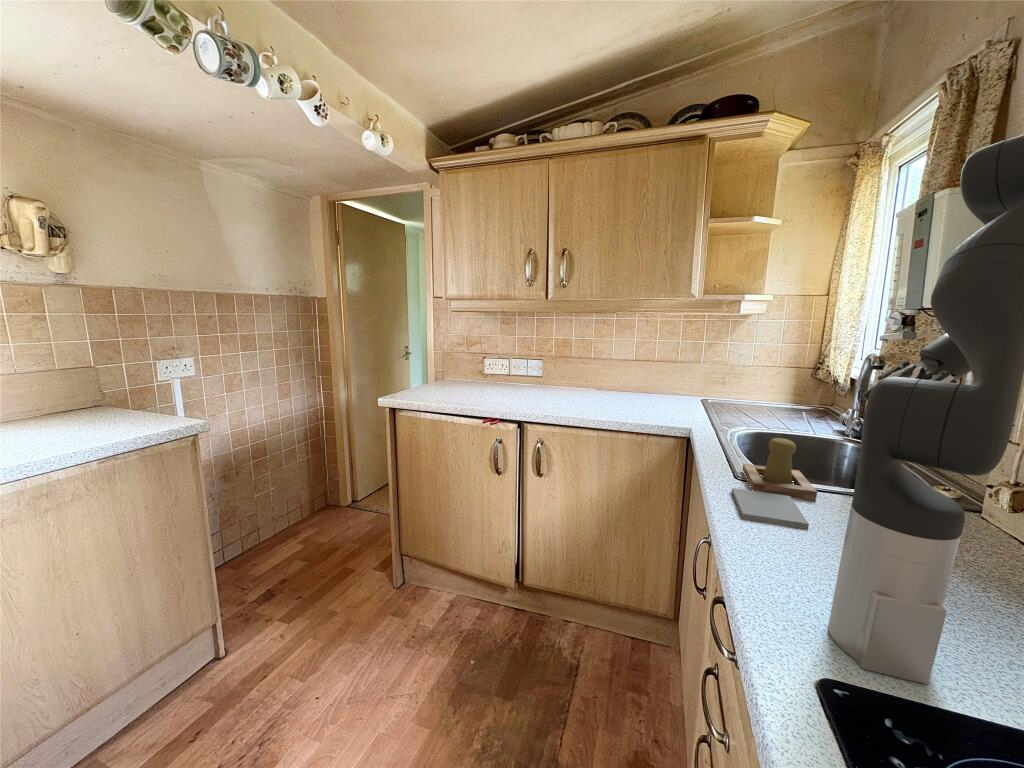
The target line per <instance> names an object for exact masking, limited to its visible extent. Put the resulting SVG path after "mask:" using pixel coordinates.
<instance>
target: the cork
mask: <svg viewBox="0 0 1024 768" xmlns="http://www.w3.org/2000/svg"><path fill="white" fill-rule="evenodd" d="M796 449H797V447H796V443H794V441H792V440H790V439H787V438H781V437H775V438H772V439H771V440H770V441H769V442H768V450H769V455H768V457H767V462H766V465H765V466H766V468H765V471H764V474H763V477H761V479H762V480H763V481H769V482H776V483H784V484H791V485H793V484H792V470H793V468H792V465H793V464H792V461H793V459H792V456H793V455H794V454H795V452H796V451H797V450H796Z"/></svg>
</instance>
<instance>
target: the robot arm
mask: <svg viewBox="0 0 1024 768" xmlns="http://www.w3.org/2000/svg"><path fill="white" fill-rule="evenodd" d="M959 182H960V183H959V184H960V185H959V186H960V192H961V196H962V199H963V202H964V204H965V205H966V207H967V209H969V211H970V212H971V214H972V215H974V217H976V219H978V220H979V222H981V223H982V224H983V225H984V226H983V227H981V228H979V229H978V230H977V231H976V232H974V233H972V235H970V236H969V237H967V239H965V240H964V241H963V242H962V243H961V244H959V245H958V246H957V247H956V248H955V249H954V250H953V251H952V252H951V253H950V255H949V256H948V257H947V259H946V260H945V262H944V264H943V266H942V268H941V271H940V273H939V276H938V278H937V280H936V283H935V286H934V288H933V290H932V294H931V297H930V306H931V310H932V313H933V316H934V317H935V320H936V321H937V322H938V324H939V326H940V327H941V328H942V330H943V331H944V334H943V335H941V336H940V337H938V338H937V339H935V340H933V341H932V342H931V343H929V344H927V345H926V346H924V347H923V348H921V349H920V350H919V352H918V353H919V357H920V360H919V361H918V360H917V361H916V362H914V363H910V361H909V360H904V361H902V362H900V363H898V364H897V365H895V366H894V367H892V368H891V369H889V370H887V371H885V372H883V373H882V374H881V375H879V376H877V378H876V379H877V380H878V382H877V383H876V384H875V385H873V386H872V387H871V388H868V390H866V391H864V392H863V393H862V394H861V396H862V397H863V398H864V399H865V400H866V404H865V405H866V406H865V410H864V415H863V421H862V423H863V424H862V430H861V440H860V450H859V455H858V456H859V457H858V465H857V471H856V475H855V481H854V489H853V495H852V499H851V504H850V505H851V506H850V509H849V510H850V511H849V514H848V520H847V526H846V530H845V535H844V540H843V545H842V550H841V551H842V552H841V556H840V561H839V567H838V572H837V576H836V583H835V587H834V593H833V599H832V603H831V604H832V605H831V610H830V616H829V622H828V625H827V629H828V633H829V635H830V637H831V638H832V639H833V641H834V642H835V643H836V645H837V646H838V647H839V648H840V649H842V650H843V651H844V652H845V653H846V654H848V655H849V656H851V657H852V658H853V659H855V661H856V662H857V664H859V665H858V666H860V668H861V669H863V670H867V671H871V672H874V673H879V674H883V675H887V676H891V677H895V678H899V679H903V680H908V681H910V682H916V683H918V684H919V683H921V684H924V685H929V684H930V683H929V682H930V679H931V675H932V672H933V667H934V663H935V660H936V655H937V651H938V648H939V644H940V641H941V636H942V632H943V629H944V624H945V622H946V621H945V619H946V617H947V609H945V606H944V603H945V600H946V596H947V591H948V588H949V583H950V580H951V577H952V576H951V575H952V573H953V572H952V571H953V569H954V566H955V565H954V564H955V561H956V558H957V553H958V549H959V544H960V542H961V537H962V535H963V530H964V526H965V523H966V514H965V511H964V509H963V507H961V505H960V504H959V503H957V501H956V500H954V499H952V498H951V497H949V496H947V495H946V494H944V493H942V492H941V491H938V490H937V489H936V488H933V487H931V486H929V485H928V484H926V483H925V482H923V481H921V480H920V479H919V478H918V477H915V475H913V474H912V473H911V472H910V471H909V470H908V469H907V468H906V467H905V466H904V465H903V464H902V462H901V461H903V462H908V463H912V464H916V465H920V466H921V465H922V466H926V467H929V468H933V469H940V470H943V471H946V472H947V471H948V472H952V473H956V474H960V475H961V474H962V475H967V476H974V477H976V476H977V477H979V476H985V475H988V474H989V473H990V472H992V471H993V470H994V469H995V468H996V467H997V466H998V465H999V464H1000V462H1001V460H1002V459H1003V457H1004V456H1005V452H1006V451H1007V447H1008V444H1009V441H1010V439H1011V435H1012V431H1013V425H1014V421H1015V417H1016V413H1017V412H1016V411H1017V408H1018V407H1017V406H1018V402H1019V397H1020V392H1021V386H1022V383H1023V377H1024V133H1023V134H1021V135H1020V134H1019V136H1018V135H1017V136H1015V137H1011V138H1009V139H1005V140H1001V141H997V142H996V143H992V144H990V145H987V146H984V147H982V148H980V149H978V150H976V151H974V152H973V153H971V154H970V155H969V156H968V157H967V158H966V160H965V162H964V164H963V166H962V169H961V173H960V181H959ZM970 372H971V373H972V377H973V384H965V383H962V384H961V383H958V381H957V380H959V379H960V378H963V377H964V376H965V375H967V374H969V373H970Z"/></svg>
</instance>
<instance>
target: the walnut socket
mask: <svg viewBox="0 0 1024 768" xmlns="http://www.w3.org/2000/svg"><path fill="white" fill-rule="evenodd" d="M765 468H766V465H758V464H757V465H756V464H750V463H749V464H747V463H743V464H742V469H743V471H744V473H745V475H746V477H747V479H748V481H747V483H748V482H749V483H748V485H749V484H750V485H749V487H750V486H751V487H750V489H751V488H752V489H751V491H752V490H753V491H758V492H765V493H772V494H779V495H786V496H790V497H791V498H795V499H803V500H810V501H817V496H818V490H817V489H816V488H814V486H813V485H812V484H811V482H809V480H808V479H807V478H806V476H804V474H803V473H802V472H801V471H800V470H797V469H792V481H794V482H792V483H794V485H793V484H792V485H791V484H784V483H776V482H769V481H763V480H762V477H760V475H762V476H763V474H764V471H765ZM747 479H746V480H747Z"/></svg>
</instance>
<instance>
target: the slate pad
mask: <svg viewBox="0 0 1024 768" xmlns="http://www.w3.org/2000/svg"><path fill="white" fill-rule="evenodd" d="M731 493H733V494H732V497H733V499H734V498H735V499H734V501H735V504H736V503H737V504H736V506H737V509H738V508H739V509H738V511H739V514H740V516H741V518H742V519H744V518H747V519H746V520H750V519H753V520H752V521H757V520H758V521H757V522H764V523H769V522H770V524H775V525H783V526H789V527H794V528H795V527H796V528H801V529H805V530H806V529H809V526H810V523H809V522H808V520H807V519H806V518H805V516H804V514H803V513H802V512H801V510H800V509H799V507H798V506H797V505H796V503H795V501H794V500H793V499H792V497H790V496H786V495H779V494H772V493H765V492H758V491H752V489H744V488H743V489H742V488H736V487H732V489H731Z"/></svg>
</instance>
